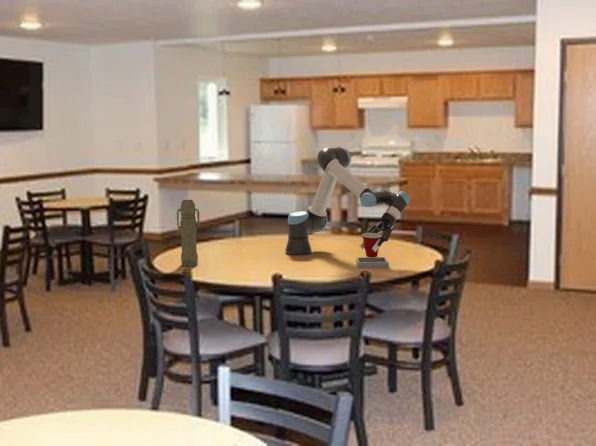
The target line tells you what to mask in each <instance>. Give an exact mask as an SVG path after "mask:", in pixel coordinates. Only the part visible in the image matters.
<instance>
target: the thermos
mask: <svg viewBox="0 0 596 446" xmlns="http://www.w3.org/2000/svg"><path fill="white" fill-rule="evenodd" d="M179 212H180V215H181V217H179ZM196 212H197V213H196ZM196 216H197V217H196ZM196 218H197V220H196ZM179 219H180V220H179ZM179 221H180V222H179ZM176 225H177V229H179V230H180V232H179V233H180V236H181V254H180V261H181V266H182V267H186V268H187V267H188V268H189V267H197V266H198V264H199V263H198V261H199V254H198V252H197V233H198V229H199V228H200V210H199V209H198V208H196V204H195V202H194V200H192V199H183V200H181V203H180V208H178V209H177V211H176Z"/></svg>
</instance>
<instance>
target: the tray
mask: <svg viewBox="0 0 596 446" xmlns="http://www.w3.org/2000/svg"><path fill="white" fill-rule="evenodd" d="M355 264H356V267H357V268H358V269H383V268H384V269H389V268H390V262H389V261H388V258H387V257H386V256H377V257H366V256H362V257H357V256H356V257H355ZM388 267H389V268H388Z"/></svg>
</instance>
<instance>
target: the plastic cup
mask: <svg viewBox="0 0 596 446" xmlns="http://www.w3.org/2000/svg"><path fill="white" fill-rule="evenodd" d="M361 237H362V242H363V241H364V247H365V248H364V251H365V257H379V256H378V254H379V248H380V247H379V248H378V250H377V251H376V252H375V251H374V250H373V249H372V248H373V246H374V245H375V244H376V242H377V241H378V239H380V238H381V233H379V232H378V233H366V232H363V233H362V234H361ZM380 240H381V239H380Z"/></svg>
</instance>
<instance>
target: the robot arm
mask: <svg viewBox="0 0 596 446" xmlns="http://www.w3.org/2000/svg"><path fill="white" fill-rule="evenodd" d="M316 162H317V164H318V166H319V167H320V169H321V170H322V171H323V174H322V177H321V179H320V183H319V185H318V188H317V190H316V193H315V196H314V199H313V201H312V204H311V206H308V208H307V211H294V212H291V213H290V214H288V215H287V216H288V217H287V239H288V240H287V242H286V243H287V244H286V247H285V251H284V253H285V254H286V255H291V254H292V255H291V256H293V255H295V256H296V255H297V256H305V255H310V254H312V251H313V250H312V247H311V243H310V241H309V234H311V233H312V234H313V233H318V232H321V231H323V230H325V229H326V228H327V225H328V221H329V219H328V214H327V211H326V210H327V208H328V205H329V202H330V200H331V198H332V195H333V191H334V190H335V187H336V184H337V181H338V182H339V183H341V184H342V185H343V186H344V187H346V188H347V189H348V191H350V192H351V193H352V194H353V195H355V196H356V197H357V198H358V199H359V201H360V204H361V205H362V206H363V207H366V208H372V207H377V206H382V205H383V206H388V207H387V208H386V210H385V211H384V212H383V214H382V216H381V217H380V221H379V222H377V221H375V222H374V223H373V224H372V225H371V227H370V228H369V229H368V230H366V232H365V233H378V234H379V233H380V232H381V233H380V234H381V238H380V239H378V241H377V242H376V244H375V245H374V246H373V248H372V249H373V250H374V251H375V252H376V251H377V250H378V248H380V247H381V246H382V245H383V243H385V242H388V241H389V238H390V236H391V233H392V232H393V230H394V229H395V227H394V225H395V224H396V221H397V220H398V219H399V217H400V216H401V214H402V213H403V211H404V210H405V209H406V207H407V206H408V205H409V203H410V201H411V196H410V195H409V193H407V192H405V191H403V190H402V191H401V190H400V191H399V192H398V193H395V192H391V191H389V190H386V189H383V188H377V189H375V190H374V191H373V190H372V189H370V188H369V187H368V186H367V185H366V184H365V183H363V182H362V181H361V180H360V179H359V178H358V177H356V175H354V174H352V172H350V171H349V170H348V169H347V167H349V166H350V164H351V163H352V155H351V152H350V151H349V149H347V148H346V147H341V146H338V147H335V146H334V147H325V148H323V149H321V150H320V151H319V152H318V154H317V158H316ZM359 247H360V248H361V250H365V247H364V241H363V240H362V242H361V243H360V245H359ZM378 251H379V250H378Z"/></svg>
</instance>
